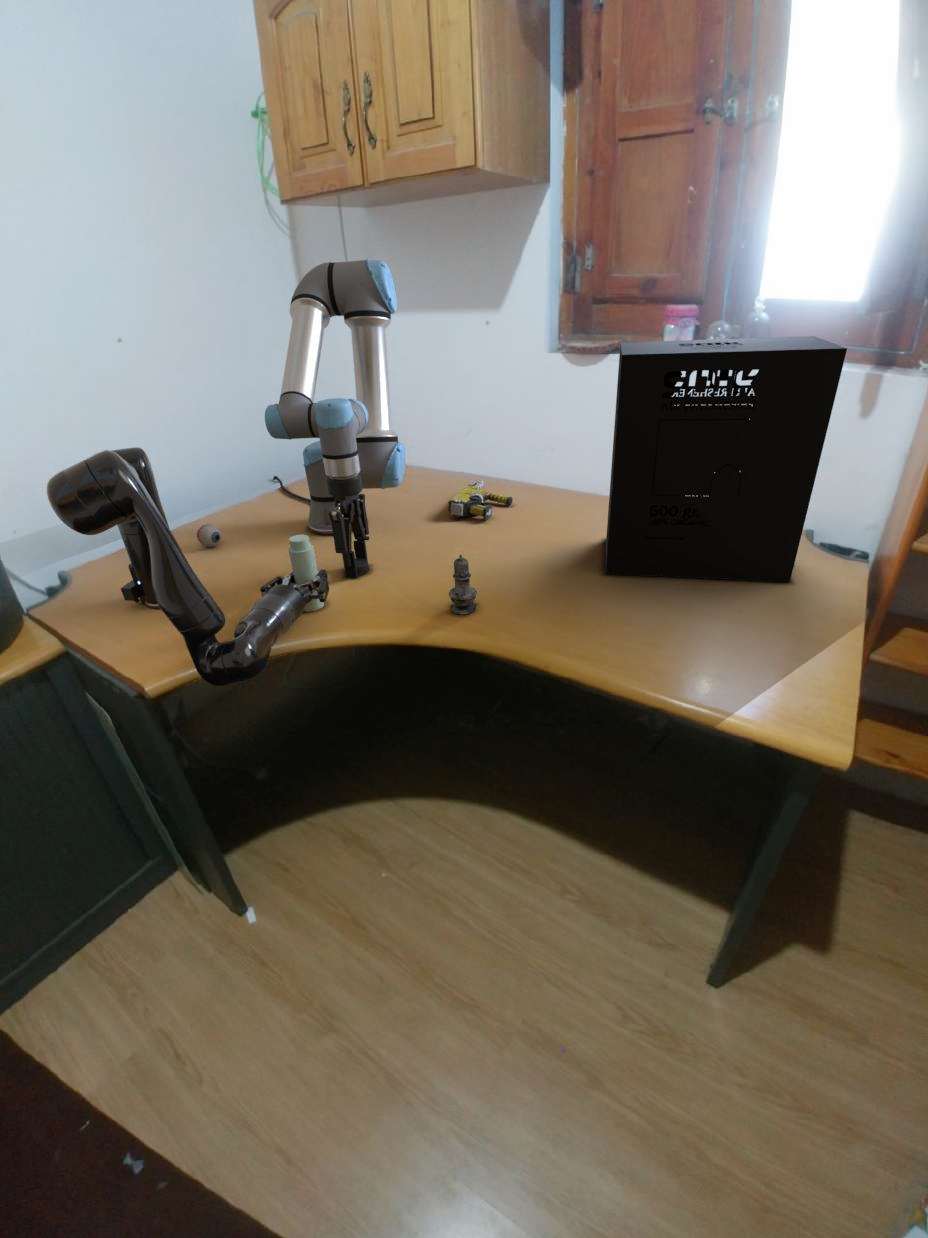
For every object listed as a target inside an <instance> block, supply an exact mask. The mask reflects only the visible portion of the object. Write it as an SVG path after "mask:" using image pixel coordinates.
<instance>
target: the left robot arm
mask: <svg viewBox="0 0 928 1238" xmlns="http://www.w3.org/2000/svg"><path fill="white" fill-rule="evenodd" d="M46 496H47V501H48V503H49V504H50V507H51V509H52V511H53V512H54V513H55V515H56V516H57V518H58V519H59V520H60V521H61V522H63V524H64V525H65V526H67V527H68V528H70V530H73V531H74V532H76V533H79V534H81V535H83V536H84V535H85V536H96V535H99V534H102V533H105V532H106V531H109V530H110V529H112V528H114V527H116V526H117V528H118V531H119V534H120V536H121V539H122V542H123V545H124V547H125V550H126V553H127V555H128V558H129V562H130V563H129V564H128V565H127V567H128V570H129V572H130V576H131V578H132V580H130V581H128V582H127V583H126V584H124V585H123V586H122V587H120V591H121V594H122V596H123V600H124V601H127V602H128V601H129V602H135V603H139V602H140V603H141V605H143V606H144V605H145V606H146V607H147V608H149V609H155V610H156V609H157V610H159V609H160V610H161V611H162V613H163V614H164V615H165V616H166V617H167V620H169V622H170V623H171V624H172V625H173V626H174V628H175V629H176V630H177V632H178V633H179V634H180V635H181V637H182V638H183V641H184V643H185V646H186V649H187V650H188V653H189V656H190V658H191V661H192V663H193V666H194V668H195V670H196V672H197V674H198V676H200V677H201V678H202V680H204V681H205V682H206V683H208V684H209V685H212V686H215V687H223V686H226V685H230V684H236V683H238V682H243V681H248V680H251V679H253V678H255V677H257V675H259V674H260V673H261V672H262V671H263V670H264V669H265V667H266V665H267V663H268V660H269V658H270V654H271V652H272V648H273V646H274V645H275V644H276V643H277V642H278V640H279V639H280V638H281V637H282V636H284V634H286V633H287V632H288V631H289V629H290V628H292V626H293V625H294V623H295V622H296V621H297V620H298V619H299V618H300V617H301V615H302V614H303V612H304V611H303V610H304V607H305V605H306V604H307V603H309V602H311V600H312V599H319V600H320V602H324V603H325V602H326V601H327V599H328V595H329V592H330V586H329V581H328V573H327V571H326V569H323V568H322V569H320V570H319V571H318V574H317V575H316V576H315V577H314V578H313V579H311V580H309V579H307V580H305V581H303V582H301V583H300V584H296V583H295V578H294V574H293V571H292V572H291V573H290V574H287V575H285V576H284V577H282V576H281V575H278V576H276V577H274V578H272V579H271V580H269V581H268V582H266V583H264V584H263V585H261V586H259V592H260V595H261V598H260V599H258V601H256V603H254V605H253V606H252V608H251V609H250V611H249V612H247V614H246V615H245V616H244V617H243V618H242V619H241V620H240V621H239V622H238V623H237V625H236V626H235V629H234V631H233V638H231V639H228V640H225V641H219V640H218V638H217V636H216V635H217V634H218V633H220V631H222V629H223V628H224V627H225V624H226V621H227V620H226V616H225V613H224V612H223V611H222V609H221V608H220V606H219V605H218V604H217V602H216V601H215V599H214V598H213V597H212V595H211V594H210V592H209V591H208V589H207V588H206V587H205V586H204V584H203V582H202V581H201V580H200V579H199V577H198V576H197V574H196V573H195V571H194V569H193V568H192V567H191V564H190V563H189V562H188V559H187V558H186V556H185V554H184V552H183V550H182V548H181V547H180V545H179V543H178V541H177V539H176V538H175V535H174V534H173V531H171V529H170V526H169V523H168V519H167V517H166V513H165V511H164V508H163V507H164V506H163V505H162V501H161V497H160V495H159V490H158V487H157V482H156V478H155V474H154V471H153V467H152V462H151V460H150V458H149V456H148V454H147V452H146V451H145V450H144V449H143V448H142V447H139V446H132V447H125V448H118V449H111V450H109V449H105V450H102V451H99V452H96V453H93V454H92V455H90V456H89V457H86V459H82V460H81V461H79V462H77V463H75V464H73V465H71V466H69V467H67V468H65V469H62V470H60V471H58V472H57V473H55V474H54V475H53V476H51V478H49V480H48V481H47V484H46ZM314 583H315V585H316V586H315V587H314Z"/></svg>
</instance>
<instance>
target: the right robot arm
mask: <svg viewBox="0 0 928 1238" xmlns="http://www.w3.org/2000/svg"><path fill="white" fill-rule="evenodd" d="M293 291H294V292H293V293H292V297H291V300H290V304H289V315H290V317H291V319H292V320H291V328H290V332H289V339H288V346H287V351H286V356H285V366H284V370H283V376H282V381H281V382H282V383H281V388H280V395H279V399H278V403H274V404H269V405H268V406H267V407H266V408H265V410H264V423H265V428H266V431H267V432H268V434H269V436H271V437H272V438H273V439H275V440H299V439H319V440H318V441H314V442H312V443H309V444H308V445H307V446H305V447H304V448H303V450H302V457H303V459H302V460H303V467H304V471H305V477H306V481H307V486H308V492H309V498H310V499H309V498H307V497H303V496H301V495H298V494H296V493H294V492H291V491H289V490H288V489H287V488H285V486H284V485H283V481H282V480H281V479H280V478H279V476H277V475H274V476H273V478H272V480H277V482H278V483H279V485H280V488H281V490H283V491H284V492H285V493H286V494H288V495H290V496H292V497H294V498H296V499H299V500H302V501H305V502H306V503H310V507H309V513H308V528H309V529H308V530H310V531H311V532H312V533H314V534H317V535H323V536H324V535H325V536H327V535H329V536H331V535H332V536H333V543H334V544H333V545H334V550H335V553H336V554H341V557H342V561H343V568H344V574H345V578H348V579H357V578H359V576H358V574H357V568H356V561H355V559H356V558H362V559H366V560H367V562H368V563H369V559H368V552H367V545H366V541H369V540H370V536H369V534H370V529H369V522H368V515H367V507H366V494H365V493H362V491H363V490H368V489H382V490H385V489H391V488H398V487H399V486H400V485H401V484H402V481H403V479H404V475H405V469H406V446H405V444H404V442H401V441H399V435H398V434H397V433H396V432H395V431H394V430H393V428H392V414H391V413H392V411H391V398H390V397H391V396H390V382H389V381H390V380H389V365H388V364H389V362H388V347H387V332H386V331H387V328H388V327H389V326H390V325H391V322H392V315H394V314H396V313H397V312H398V299H397V293H396V288H395V283H394V280H393V276H392V273H391V270H390V268H389V266H388V264H387V263H386V262H385V261H383V260H381V259H368V258H367V259H362V260H350V261H339V262H338V261H336V262H331V261H330V262H329V261H328V262H324V263H320V264H317V265H316V266H314V267H313V268H311V269H310V270H309V271H307V273H305V275H304V276H303V277H302V279H300V281H299V283H298V284H297V286H296V287H295V290H293ZM337 316H338V317H340V316H341V317H343V323H344V324H345V325H346V326H347V327H348V328H349V330H350V333H351V334H350V335H351V348H352V361H353V372H354V386H355V398H344V397H343V398H342V397H336V398H335V397H333V398H327V399H321V400H318V401H317V402H314V401H315V395H316V387H317V380H318V374H319V368H320V362H321V361H320V360H321V353H322V347H323V341H324V334H325V329H326V328H327V327H328V326H329V325H330V321H331V319H332V318H333V317H337ZM352 534H353V537H354V540H353V541H352ZM352 542H353V543H352ZM352 544H353V545H352ZM352 546H353V547H352ZM352 548H353V550H352Z"/></svg>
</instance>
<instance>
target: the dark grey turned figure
mask: <svg viewBox="0 0 928 1238" xmlns="http://www.w3.org/2000/svg"><path fill="white" fill-rule="evenodd" d="M453 571H454V572H453V575H452V578H453V579H454V587H453V588H451V589H449V591H448V597H449V598H450V601H451V602H452V603H453V604H452V605H451V606H450V610H451V612H453V613H454V614H456V615H469V614H472V613H474V612H476V610H477V604H476V603H475V601H476V598H477V595H478V590H477V589H476V588H475V587H473V586H471V581H470V580H471V579H470V578H471V577H472V574H471V573H470V569H469V560H468V559H467V558H465V557H463V555H462V554H459V555H458V558H455V560H454V561H453Z"/></svg>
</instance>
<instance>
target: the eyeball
mask: <svg viewBox="0 0 928 1238" xmlns="http://www.w3.org/2000/svg"><path fill="white" fill-rule="evenodd" d="M196 538H197V540H198V542H199V543H200V544H201V545H202V546H204V547H207V548H213V547H216V546H218V545H219V544H220V543H221V541H222V539H223V535H222V532H221V529H220V528H219V527H218V526H216V525H214V524H212V523H206V524H203V525H201V526H200V527H199V528H198V529H197V532H196Z"/></svg>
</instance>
